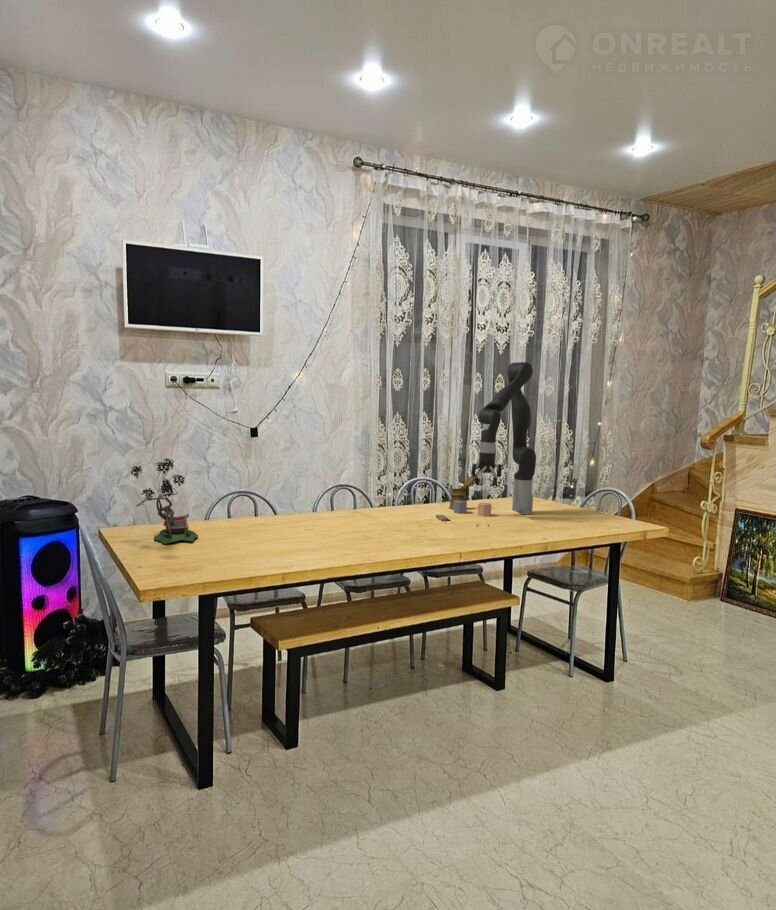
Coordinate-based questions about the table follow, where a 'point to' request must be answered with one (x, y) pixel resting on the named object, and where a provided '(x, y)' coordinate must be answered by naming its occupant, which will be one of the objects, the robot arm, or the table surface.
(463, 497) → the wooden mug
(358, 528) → the table surface
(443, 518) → the walnut coaster
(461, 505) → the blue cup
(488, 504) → the terracotta cup
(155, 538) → the bonsai tree
